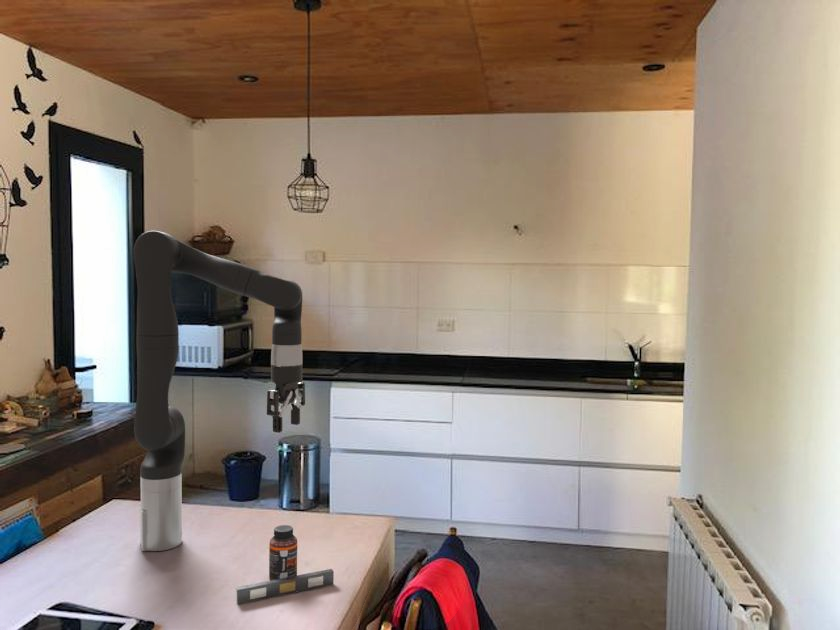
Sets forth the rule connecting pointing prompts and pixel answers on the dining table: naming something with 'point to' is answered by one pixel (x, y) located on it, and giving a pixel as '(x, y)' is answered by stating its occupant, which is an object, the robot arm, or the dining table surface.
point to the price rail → (284, 586)
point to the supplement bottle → (282, 553)
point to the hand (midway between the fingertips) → (286, 428)
